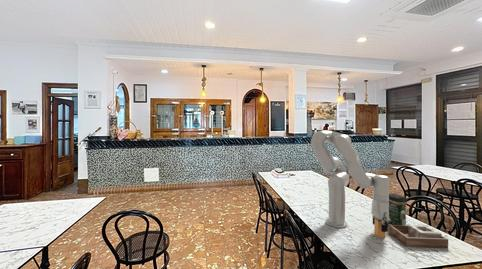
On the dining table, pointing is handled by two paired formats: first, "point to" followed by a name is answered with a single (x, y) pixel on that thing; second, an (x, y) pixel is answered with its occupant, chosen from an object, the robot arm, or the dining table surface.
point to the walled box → (418, 236)
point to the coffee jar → (397, 209)
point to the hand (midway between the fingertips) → (380, 227)
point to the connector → (378, 228)
